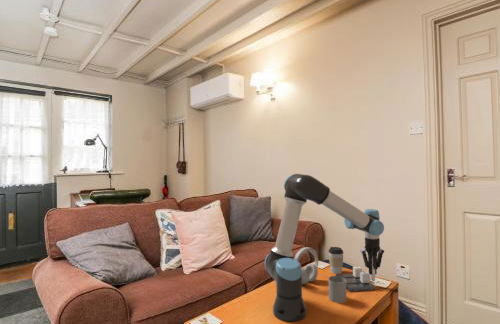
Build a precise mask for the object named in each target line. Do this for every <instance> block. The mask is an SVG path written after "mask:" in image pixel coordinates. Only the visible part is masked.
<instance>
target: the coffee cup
mask: <svg viewBox="0 0 500 324" xmlns="http://www.w3.org/2000/svg"><path fill="white" fill-rule="evenodd" d="M328 259H329V268H330V273H332V274H334V275H337V274H343V263H344V250H343V249H342V248H341V247H339V246H330V248H329V249H328Z"/></svg>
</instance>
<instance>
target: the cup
mask: <svg viewBox="0 0 500 324" xmlns="http://www.w3.org/2000/svg"><path fill="white" fill-rule="evenodd" d="M328 299H329V301H331V302H333V303H335V304H344V303H346V302H347V289H346V279H345V278H343V277H341V276H336V275H331V276H329V277H328Z"/></svg>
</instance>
